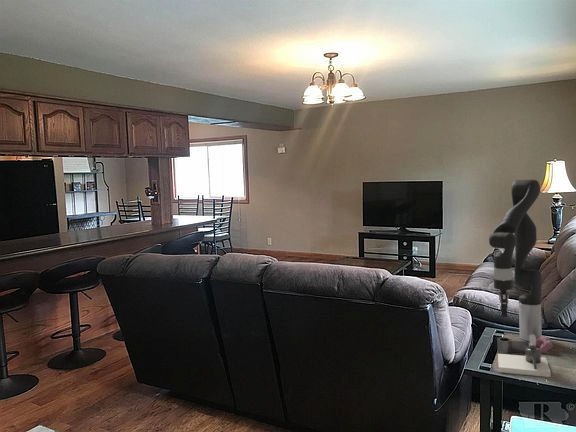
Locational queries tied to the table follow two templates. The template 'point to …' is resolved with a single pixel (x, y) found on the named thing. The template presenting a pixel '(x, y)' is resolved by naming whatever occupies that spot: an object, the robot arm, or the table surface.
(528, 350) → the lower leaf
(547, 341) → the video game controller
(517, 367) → the board
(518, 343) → the grey rectangular block
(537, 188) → the robot arm
